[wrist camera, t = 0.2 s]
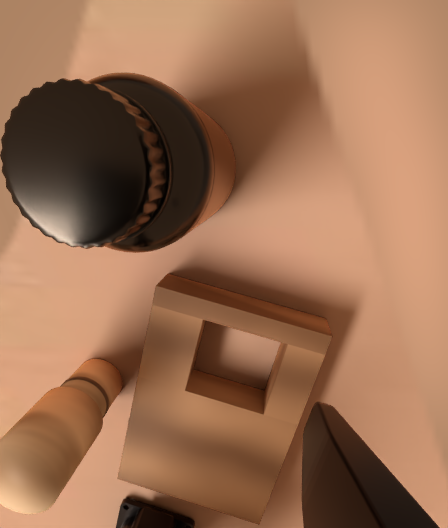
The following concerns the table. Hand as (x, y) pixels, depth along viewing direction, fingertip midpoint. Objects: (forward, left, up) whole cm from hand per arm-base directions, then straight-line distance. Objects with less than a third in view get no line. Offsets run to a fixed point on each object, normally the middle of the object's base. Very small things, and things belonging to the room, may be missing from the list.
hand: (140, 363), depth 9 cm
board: (-11, -2, -14) cm, 18 cm away
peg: (-13, +7, -14) cm, 20 cm away
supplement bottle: (+4, +4, -14) cm, 15 cm away
